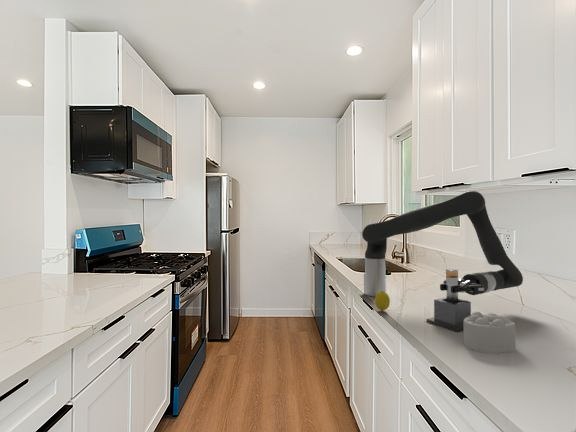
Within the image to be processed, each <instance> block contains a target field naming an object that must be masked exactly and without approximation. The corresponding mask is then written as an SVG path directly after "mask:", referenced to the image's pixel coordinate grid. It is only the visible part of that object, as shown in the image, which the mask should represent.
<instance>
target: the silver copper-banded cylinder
mask: <svg viewBox="0 0 576 432" xmlns="http://www.w3.org/2000/svg"><path fill="white" fill-rule="evenodd" d="M458 271H459V270H458V269H453V268H452V269H451V268H449V269H448V268H447V269H445V280H446V290H445V292H446V293H445V295H446V297H445V298H446V302H450V303H458V299H459V292H458V293H451V286H456V285H458V280H459V272H458Z"/></svg>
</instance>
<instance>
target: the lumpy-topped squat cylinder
mask: <svg viewBox="0 0 576 432" xmlns="http://www.w3.org/2000/svg"><path fill="white" fill-rule="evenodd" d="M463 346H464V347H465V348H466V349H469V350H471V351H474V352H479V353H485V354H505V353H506V354H507V353H511V352H515V351H516V347H517V346H516V323H515V322H514V321H511V320H510V319H508V318H507V317H505V316H502V315H498V314H496V313H492V312H489V313H487V314H482V313H481V312H480V311H474V312H472V313H471V316H468V317H466V318H465V319H464V331H463Z"/></svg>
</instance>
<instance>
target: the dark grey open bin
mask: <svg viewBox="0 0 576 432" xmlns="http://www.w3.org/2000/svg"><path fill="white" fill-rule="evenodd" d="M471 304H472V302H471V301H468V300H464V299H460V298H458V303H450V302H446V297H442V298H441V297H440V298H436V299H433V306H434V307H433V311H434V312H433V314H434V315H433V317H430V318H426V323H429V324H432V325H435V326H438V327H441V328H443V329H447V330H450V331H453V332H456V333H460V332H464V319H465V318H466V317H468V316H471V314H472V313H471V312H472V305H471Z"/></svg>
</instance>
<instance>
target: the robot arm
mask: <svg viewBox="0 0 576 432" xmlns="http://www.w3.org/2000/svg"><path fill="white" fill-rule="evenodd" d="M460 216H467V218H469V220H470V222H471V224H472V226H473V228H474V230H475V233H476V236H477V238H478V242H479V244H480V247H481V250H482V252H483V255H484V256H485V258H486V259H485V260H486V261H487V263H488V264H489V265H492V266H499V267H501V268H502V269H500V270H495V271H491V270H490V271H479V272H473V273H472V272H471V273H466V274H464V275H463V277H462V278H458V285H456V286H451V293H458V294H459V293H461V294H463V293H465V294H468V295H470V296H477V295H483V294H488V293H490V292H494V291H498V290H505V289H510V288H515V287H519V286H521V285H523V282H524V276H523V274H522V273H521V270H520V269H519V268H518V267H517V266H516V265H515V263H513V261H512V260H511V258H510V257H509V256H508V254H507V252H506V250H505V247H504V246H503V244H502V241H501V239H500V237H499V235H498V233H497V232H496V230H495V229H494V227H493V224H492V222H491V220H490V218H489V214H488V211H487V206H486V199H485V196H483V194H482V193H480V192H479V191H476V190H467V191H465V192H462V193H461V194H459V195H456V196H454V197H451V198H449V199H447V200H444V201H441V202H435V203H432V204H428V205H425V206H421V207H418V208H415V209H412V210H409V211H406V212H404V213H401V214H400V215H397V216H395V217H392V218H390V219H388V220H384V221H380V222H376V223H370V224H368V225H365V227H364V228H363V229H362V231H361V232H362V233H361V235H362V239H363V240H364V241H365V242H366V244H367V247H366V250H365V252H364V269H365V272H364V274H363V294H365V295H366V296H368V297H376V295H377V293H379V292H381V291H384V292H385V293H387V289H386V287H387V286H386V284H387V283H386V282H387V280H386V279H387V277H386V275H387V273H386V253H387V244H388V238H391V237H394V236H399V235H405V234H412V233H414V232H415V233H416V232H419V231H422V230H425V229H429V228H431V227H434V226H436V225H439V224H441V223H442V222H444V221H446V220H449V219H451V218H455V217H460ZM442 282H443V283H441V284H440V285H439V289H440V291H443V292H444V291H446V279H445V280H443V281H442Z"/></svg>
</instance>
